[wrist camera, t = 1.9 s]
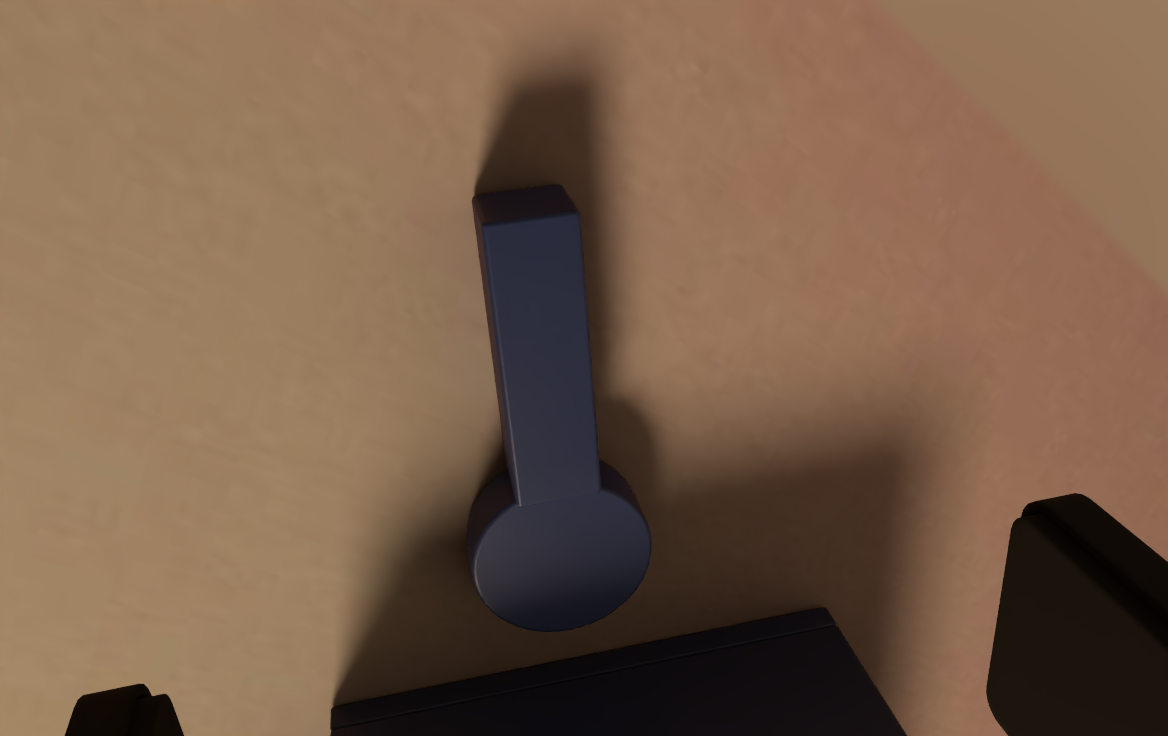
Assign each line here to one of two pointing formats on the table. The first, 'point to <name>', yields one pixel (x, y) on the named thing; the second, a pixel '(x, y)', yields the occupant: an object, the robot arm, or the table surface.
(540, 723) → the navy bin
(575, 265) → the navy spoon
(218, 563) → the table surface
